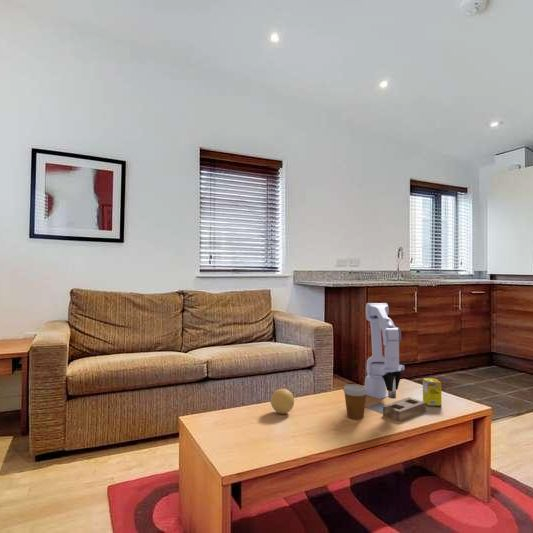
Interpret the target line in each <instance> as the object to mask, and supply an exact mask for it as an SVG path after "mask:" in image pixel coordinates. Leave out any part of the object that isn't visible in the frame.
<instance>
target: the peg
mask: <svg viewBox="0 0 533 533" xmlns="http://www.w3.org/2000/svg"><path fill="white" fill-rule="evenodd" d="M387 392H388V393H387V394H388V397H387V398H389V399H393V400H394V399H396V398H397V390H396V376H395V378H394V381H393V389H392V391H388V390H387Z"/></svg>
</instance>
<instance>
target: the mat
mask: <svg viewBox="0 0 533 533" xmlns="http://www.w3.org/2000/svg"><path fill="white" fill-rule="evenodd" d="M385 405H386V404H384V403H381V402H378V403H375V404H372V405H369V406H365V408H364V409H367V410H370V411H374V412H376V413H379V414H381V415H383V406H385Z"/></svg>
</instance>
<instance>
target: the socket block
mask: <svg viewBox="0 0 533 533" xmlns="http://www.w3.org/2000/svg"><path fill="white" fill-rule="evenodd" d="M425 412H427V405H426V402H423V400H420V399H416V398H413V397H405V398H402V399H399V400H397V401H393V402H391V403H389V404H385V406H383V414H382V416H384V417H387V418H390V419H392V420H395V421H398V422H403V421H404V420H407V419H411V418H413V417H415V416H418V415H420V414H422V413H425Z"/></svg>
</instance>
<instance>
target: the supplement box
mask: <svg viewBox="0 0 533 533" xmlns="http://www.w3.org/2000/svg"><path fill="white" fill-rule="evenodd" d="M422 401H423V402H426V407H431V408H434V407H435V408H442V382H441V381H439V379H437V378H422Z"/></svg>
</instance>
